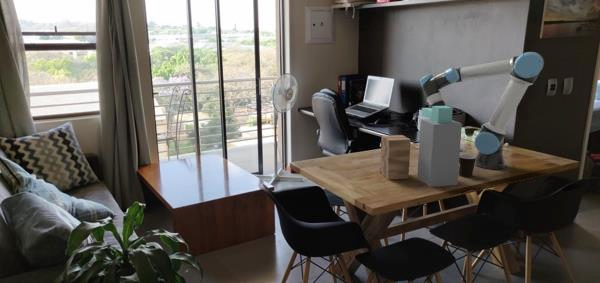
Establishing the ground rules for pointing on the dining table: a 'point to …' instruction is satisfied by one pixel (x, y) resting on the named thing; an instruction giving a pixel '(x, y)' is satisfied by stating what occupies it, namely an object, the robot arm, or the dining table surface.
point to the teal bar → (438, 114)
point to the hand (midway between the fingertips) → (452, 139)
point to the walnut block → (395, 156)
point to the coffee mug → (466, 165)
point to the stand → (439, 153)
